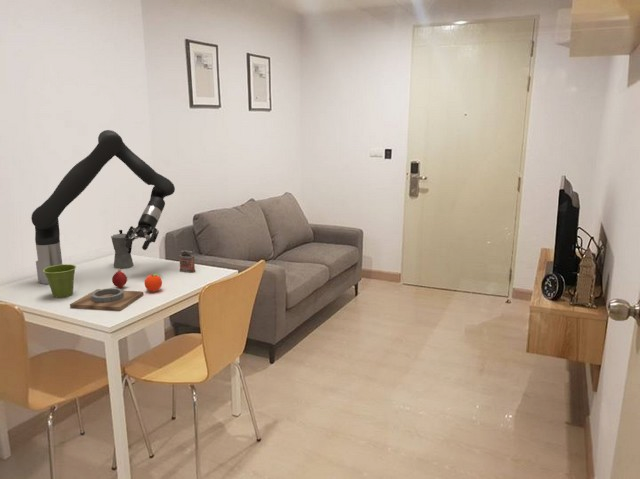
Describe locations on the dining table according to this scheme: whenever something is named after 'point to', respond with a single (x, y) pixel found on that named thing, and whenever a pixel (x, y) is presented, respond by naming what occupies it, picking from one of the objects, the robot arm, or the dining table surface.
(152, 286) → the clementine
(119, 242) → the coffeepot
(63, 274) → the plant pot
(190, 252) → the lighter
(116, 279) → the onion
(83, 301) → the board
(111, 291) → the ring
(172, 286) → the dining table surface
